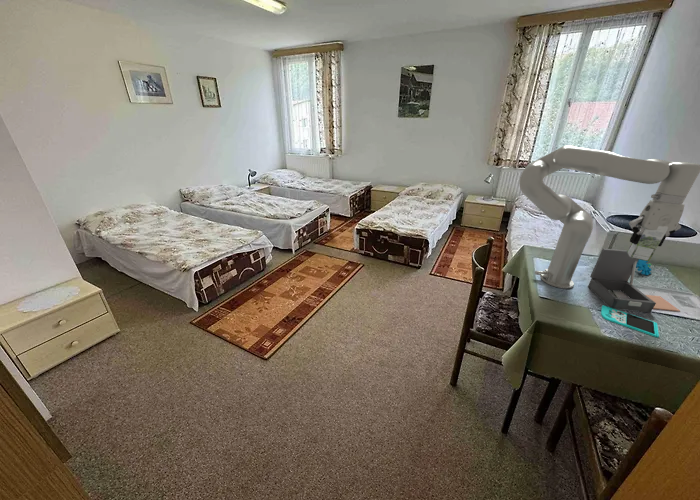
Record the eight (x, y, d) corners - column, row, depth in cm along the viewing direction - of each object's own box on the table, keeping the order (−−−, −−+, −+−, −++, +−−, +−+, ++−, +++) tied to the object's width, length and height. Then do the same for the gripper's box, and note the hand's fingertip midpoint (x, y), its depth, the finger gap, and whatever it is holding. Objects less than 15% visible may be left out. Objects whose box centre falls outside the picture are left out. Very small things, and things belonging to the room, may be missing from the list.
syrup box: (645, 256, 112) (664, 221, 105) (649, 262, 107) (669, 226, 101) (626, 252, 115) (643, 218, 108) (629, 258, 110) (647, 223, 104)
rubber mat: (650, 308, 114) (651, 307, 113) (632, 294, 122) (633, 293, 122) (679, 311, 112) (680, 310, 112) (659, 297, 121) (660, 296, 121)
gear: (642, 274, 135) (634, 254, 138) (628, 277, 140) (620, 258, 144) (657, 274, 138) (649, 255, 141) (643, 277, 143) (635, 259, 147)
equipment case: (611, 309, 113) (632, 268, 105) (586, 285, 129) (602, 248, 121) (651, 313, 111) (676, 272, 103) (621, 288, 127) (640, 251, 118)
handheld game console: (601, 306, 115) (602, 304, 114) (656, 325, 106) (657, 322, 105) (599, 318, 108) (601, 316, 108) (657, 339, 99) (659, 336, 98)
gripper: (648, 199, 99) (625, 245, 106) (707, 203, 96) (679, 250, 104) (633, 194, 105) (612, 238, 113) (687, 197, 103) (662, 242, 110)
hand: (644, 243), depth 108 cm, fingers closed on syrup box, 7 cm apart
